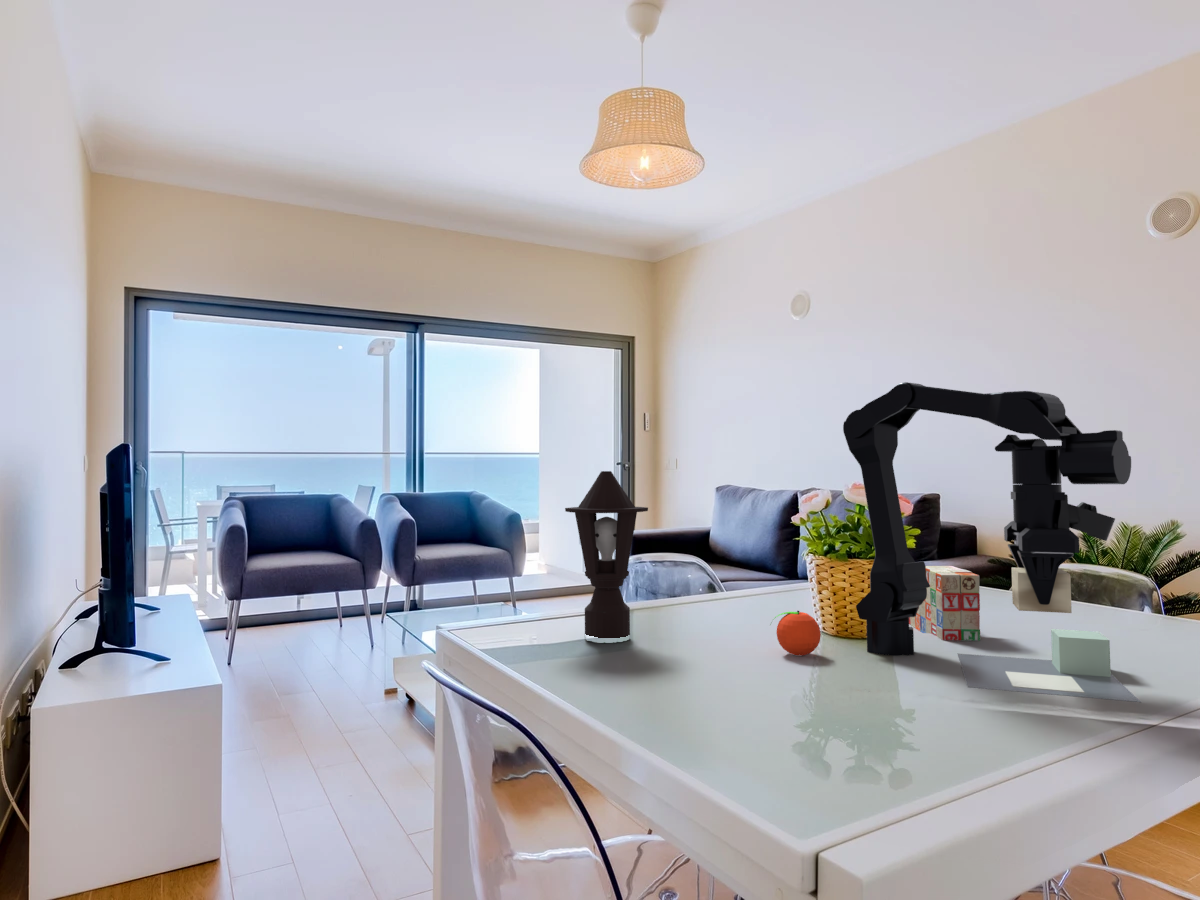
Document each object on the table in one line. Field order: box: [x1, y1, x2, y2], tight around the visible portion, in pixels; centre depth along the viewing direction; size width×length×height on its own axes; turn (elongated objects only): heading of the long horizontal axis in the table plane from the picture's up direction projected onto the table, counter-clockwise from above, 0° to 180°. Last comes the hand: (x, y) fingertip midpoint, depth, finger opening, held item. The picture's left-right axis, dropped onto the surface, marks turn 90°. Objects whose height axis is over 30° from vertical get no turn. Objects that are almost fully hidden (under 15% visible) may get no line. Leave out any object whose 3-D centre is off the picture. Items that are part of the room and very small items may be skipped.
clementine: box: [769, 610, 822, 657], centre depth 121 cm, size 8×7×7 cm
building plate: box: [957, 653, 1142, 703], centre depth 104 cm, size 19×20×1 cm
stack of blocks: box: [909, 565, 981, 642], centre depth 137 cm, size 21×6×12 cm, turn 174°
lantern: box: [564, 470, 649, 638], centre depth 135 cm, size 15×15×30 cm
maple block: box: [1011, 566, 1072, 614], centre depth 101 cm, size 6×6×5 cm
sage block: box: [1050, 628, 1112, 677], centre depth 107 cm, size 6×6×5 cm
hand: (1040, 600), depth 101 cm, fingers closed on maple block, 6 cm apart
